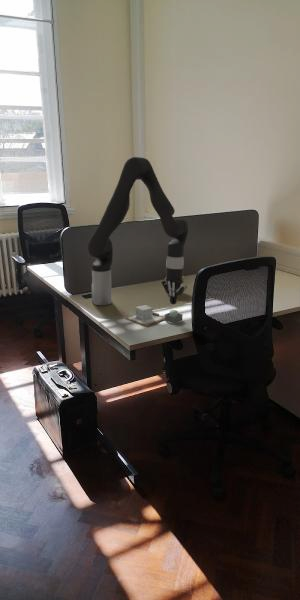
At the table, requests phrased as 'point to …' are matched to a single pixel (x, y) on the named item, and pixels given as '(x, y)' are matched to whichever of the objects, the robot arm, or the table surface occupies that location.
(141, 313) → the small box
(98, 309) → the table surface
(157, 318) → the picture frame
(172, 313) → the button
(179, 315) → the button housing
